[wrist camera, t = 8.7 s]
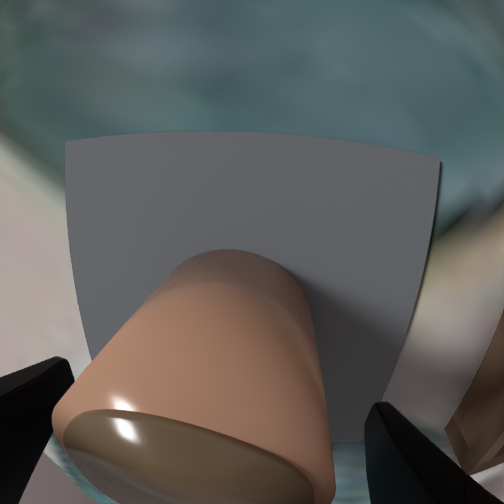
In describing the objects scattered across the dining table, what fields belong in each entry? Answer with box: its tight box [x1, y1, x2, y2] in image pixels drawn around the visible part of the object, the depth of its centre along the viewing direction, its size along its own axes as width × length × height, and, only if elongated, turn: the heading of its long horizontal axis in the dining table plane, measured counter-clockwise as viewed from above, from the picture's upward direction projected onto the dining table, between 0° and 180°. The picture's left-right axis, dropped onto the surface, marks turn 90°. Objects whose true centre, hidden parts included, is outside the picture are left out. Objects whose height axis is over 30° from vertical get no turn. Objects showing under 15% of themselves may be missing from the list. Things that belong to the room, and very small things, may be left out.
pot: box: [52, 249, 336, 504], centre depth 8 cm, size 6×6×7 cm
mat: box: [65, 131, 440, 444], centre depth 11 cm, size 14×14×1 cm
